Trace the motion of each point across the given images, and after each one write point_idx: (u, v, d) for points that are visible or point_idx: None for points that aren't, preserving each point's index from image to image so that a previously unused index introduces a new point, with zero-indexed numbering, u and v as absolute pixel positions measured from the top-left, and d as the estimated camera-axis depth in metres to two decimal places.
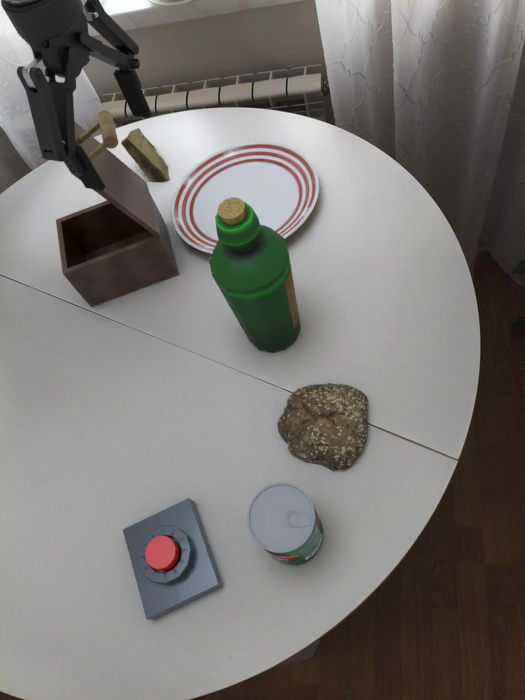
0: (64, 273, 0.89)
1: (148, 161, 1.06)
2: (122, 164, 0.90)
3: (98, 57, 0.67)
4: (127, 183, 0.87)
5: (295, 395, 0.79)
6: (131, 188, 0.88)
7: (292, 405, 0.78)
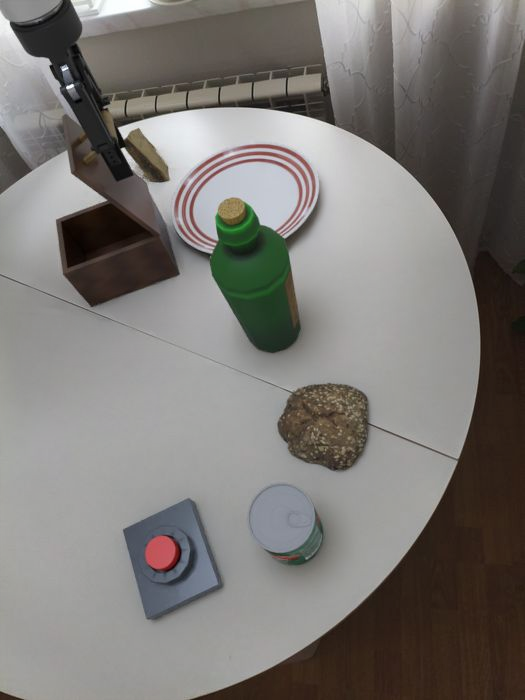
0: (64, 273, 0.89)
1: (148, 161, 1.06)
2: None
3: None
4: (127, 183, 0.87)
5: (295, 395, 0.79)
6: (131, 188, 0.88)
7: (292, 405, 0.78)
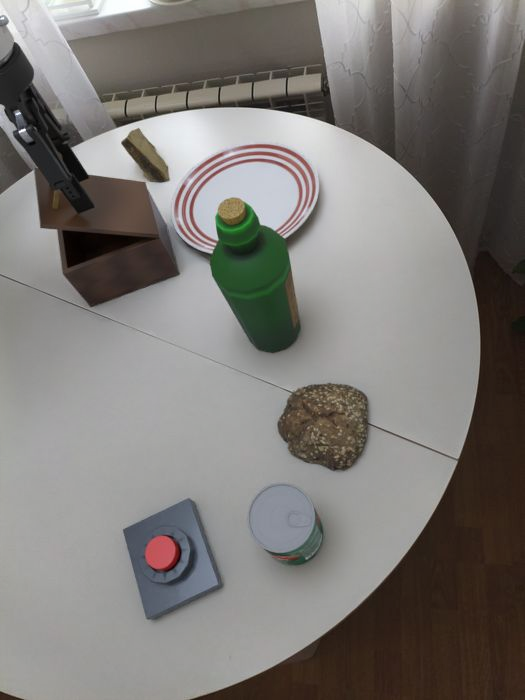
0: (64, 273, 0.89)
1: (148, 161, 1.06)
2: (109, 181, 0.91)
3: (39, 126, 0.77)
4: (115, 199, 0.89)
5: (295, 395, 0.79)
6: (120, 202, 0.89)
7: (292, 405, 0.78)
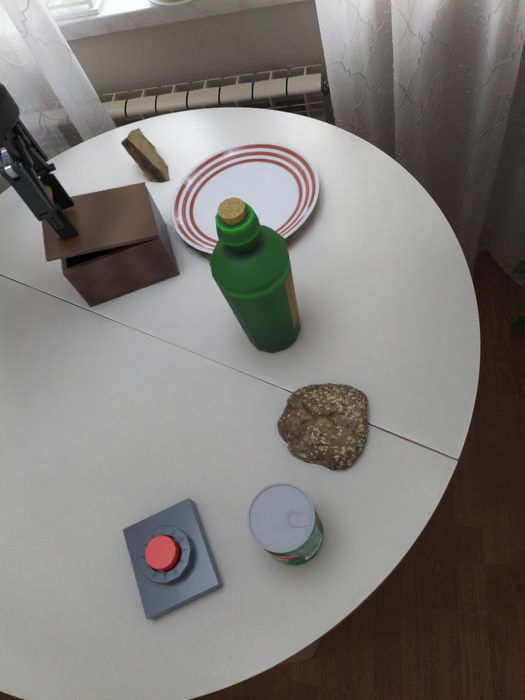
0: (64, 273, 0.89)
1: (148, 161, 1.06)
2: (109, 193, 0.93)
3: (25, 159, 0.81)
4: (114, 210, 0.91)
5: (295, 395, 0.79)
6: (119, 211, 0.91)
7: (292, 405, 0.78)
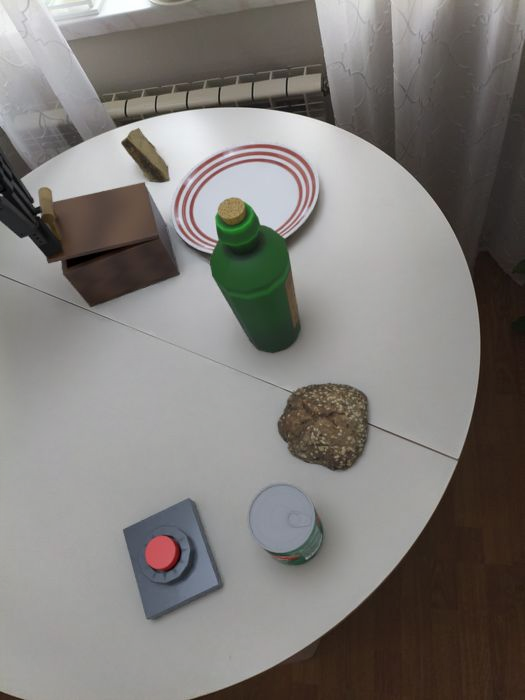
0: (64, 273, 0.89)
1: (148, 161, 1.06)
2: (109, 193, 0.93)
3: None
4: (114, 211, 0.91)
5: (295, 395, 0.79)
6: (119, 212, 0.91)
7: (292, 405, 0.78)
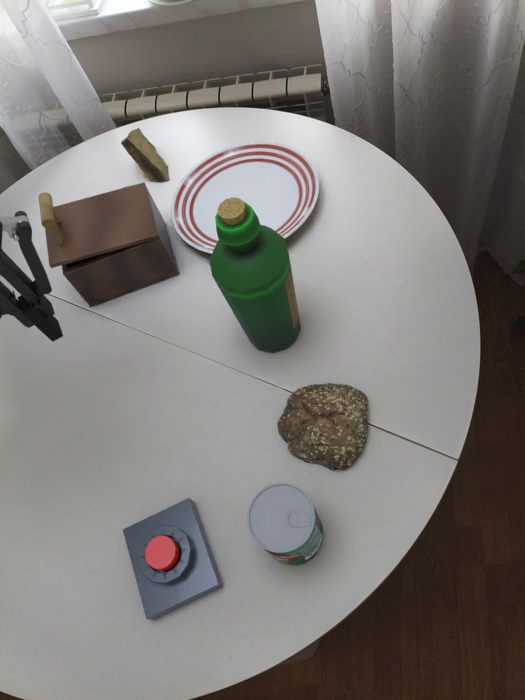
0: (64, 273, 0.89)
1: (148, 161, 1.06)
2: (110, 195, 0.94)
3: None
4: (115, 213, 0.92)
5: (295, 395, 0.79)
6: (120, 213, 0.91)
7: (292, 405, 0.78)
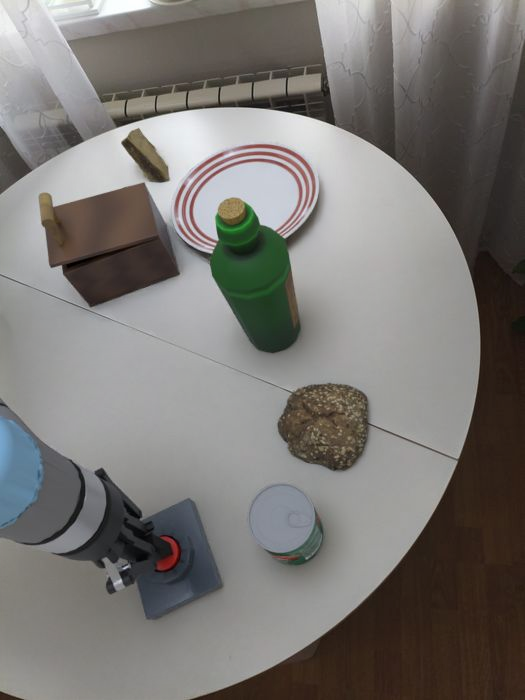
0: (64, 273, 0.89)
1: (148, 161, 1.06)
2: (110, 195, 0.94)
3: None
4: (115, 213, 0.92)
5: (295, 395, 0.79)
6: (120, 213, 0.91)
7: (292, 405, 0.78)
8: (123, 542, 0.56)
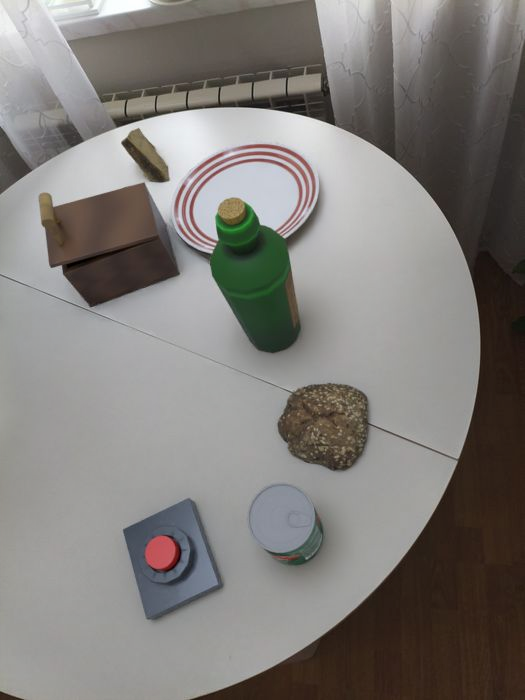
0: (64, 273, 0.89)
1: (148, 161, 1.06)
2: (110, 195, 0.94)
3: None
4: (115, 213, 0.92)
5: (295, 395, 0.79)
6: (120, 213, 0.91)
7: (292, 405, 0.78)
8: None
